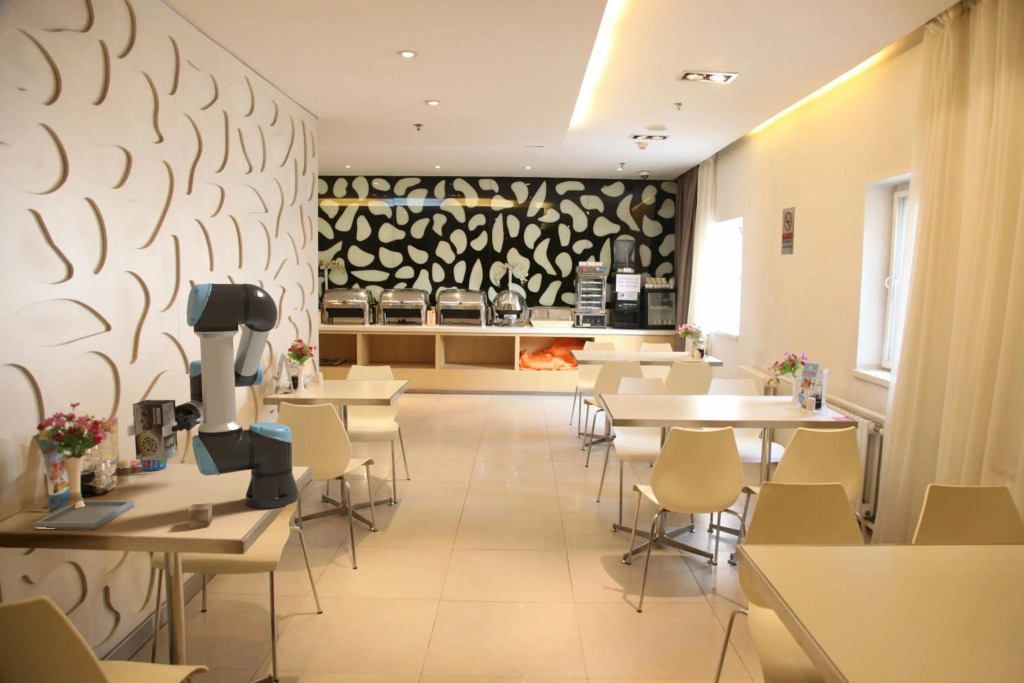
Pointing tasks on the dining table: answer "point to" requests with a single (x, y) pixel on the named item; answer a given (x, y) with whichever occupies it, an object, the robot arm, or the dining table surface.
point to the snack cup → (153, 464)
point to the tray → (85, 515)
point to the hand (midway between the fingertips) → (146, 431)
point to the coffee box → (154, 429)
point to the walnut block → (200, 515)
